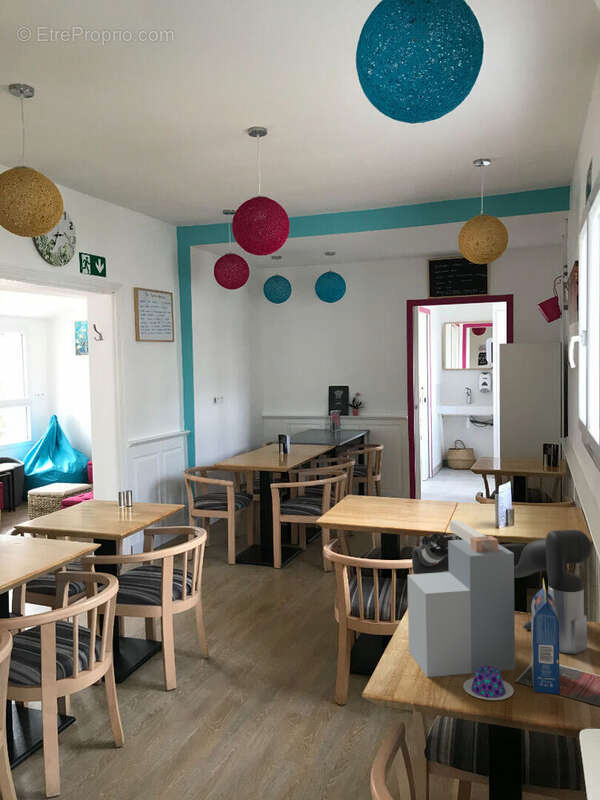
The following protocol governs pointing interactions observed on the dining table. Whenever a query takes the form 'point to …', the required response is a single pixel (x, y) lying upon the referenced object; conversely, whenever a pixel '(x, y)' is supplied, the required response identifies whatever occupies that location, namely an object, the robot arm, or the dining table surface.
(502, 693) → the pudding
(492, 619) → the riser
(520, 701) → the dining table surface
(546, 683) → the blue food package
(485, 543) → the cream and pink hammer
